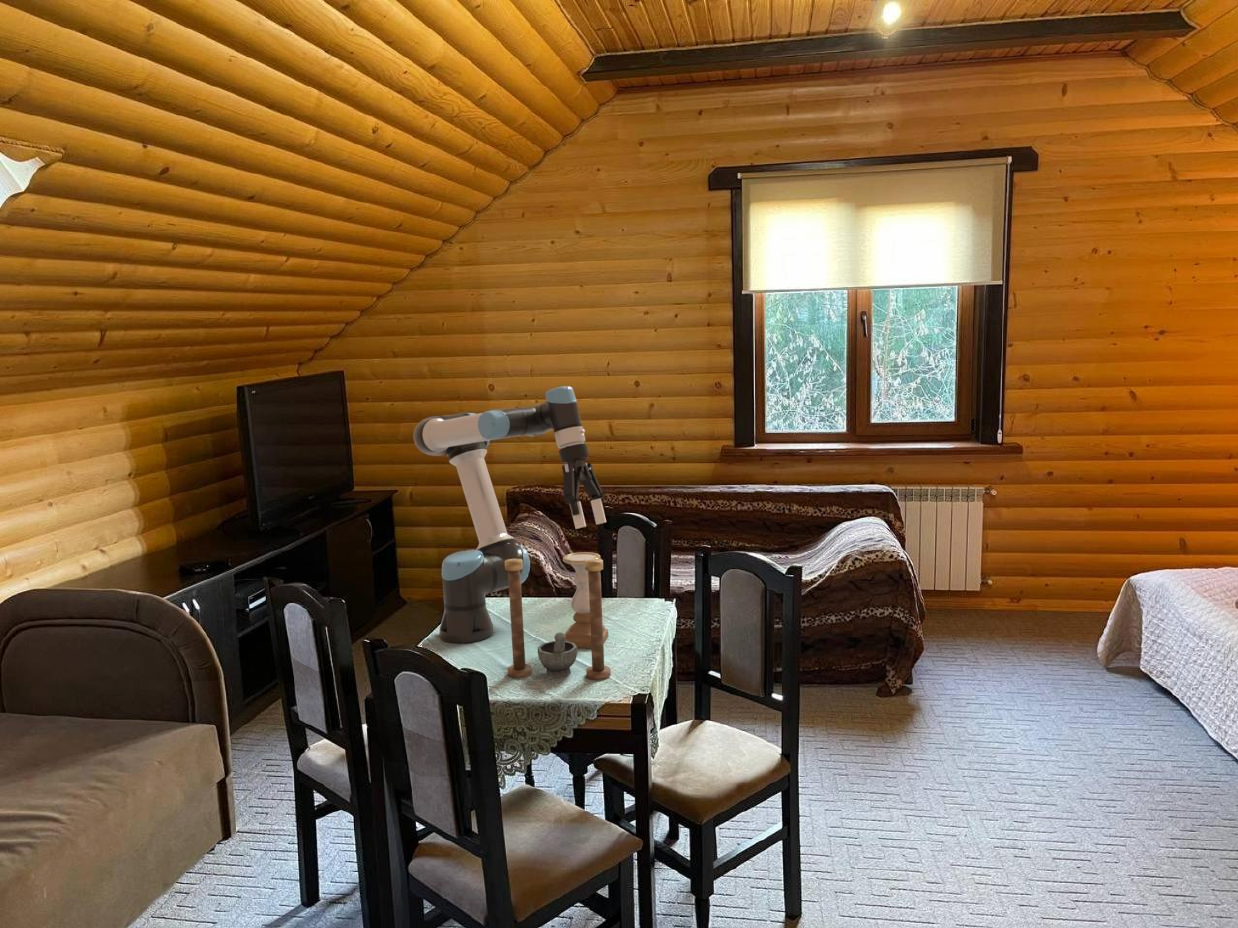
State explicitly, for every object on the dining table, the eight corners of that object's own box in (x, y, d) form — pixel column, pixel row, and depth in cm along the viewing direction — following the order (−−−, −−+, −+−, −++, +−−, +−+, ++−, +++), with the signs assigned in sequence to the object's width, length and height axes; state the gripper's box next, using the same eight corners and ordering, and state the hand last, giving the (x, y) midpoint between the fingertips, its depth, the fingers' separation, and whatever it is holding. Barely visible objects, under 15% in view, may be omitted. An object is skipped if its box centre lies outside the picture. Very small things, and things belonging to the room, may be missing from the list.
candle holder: (600, 648, 250) (596, 561, 246) (560, 647, 252) (556, 561, 248) (609, 635, 260) (605, 551, 257) (571, 634, 262) (567, 551, 259)
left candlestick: (504, 677, 231) (498, 563, 227) (511, 669, 237) (505, 557, 233) (528, 678, 230) (522, 563, 226) (534, 669, 236) (528, 557, 232)
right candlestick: (584, 679, 228) (579, 563, 224) (588, 670, 234) (583, 557, 230) (608, 680, 227) (604, 564, 223) (612, 671, 233) (608, 557, 229)
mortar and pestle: (536, 669, 236) (534, 623, 234) (572, 664, 238) (570, 619, 237) (544, 685, 225) (541, 637, 224) (582, 680, 228) (580, 632, 226)
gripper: (565, 442, 229) (585, 526, 228) (603, 442, 252) (621, 518, 251) (538, 449, 232) (558, 532, 230) (578, 449, 255) (596, 524, 254)
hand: (591, 525), depth 241 cm, fingers open, 13 cm apart
